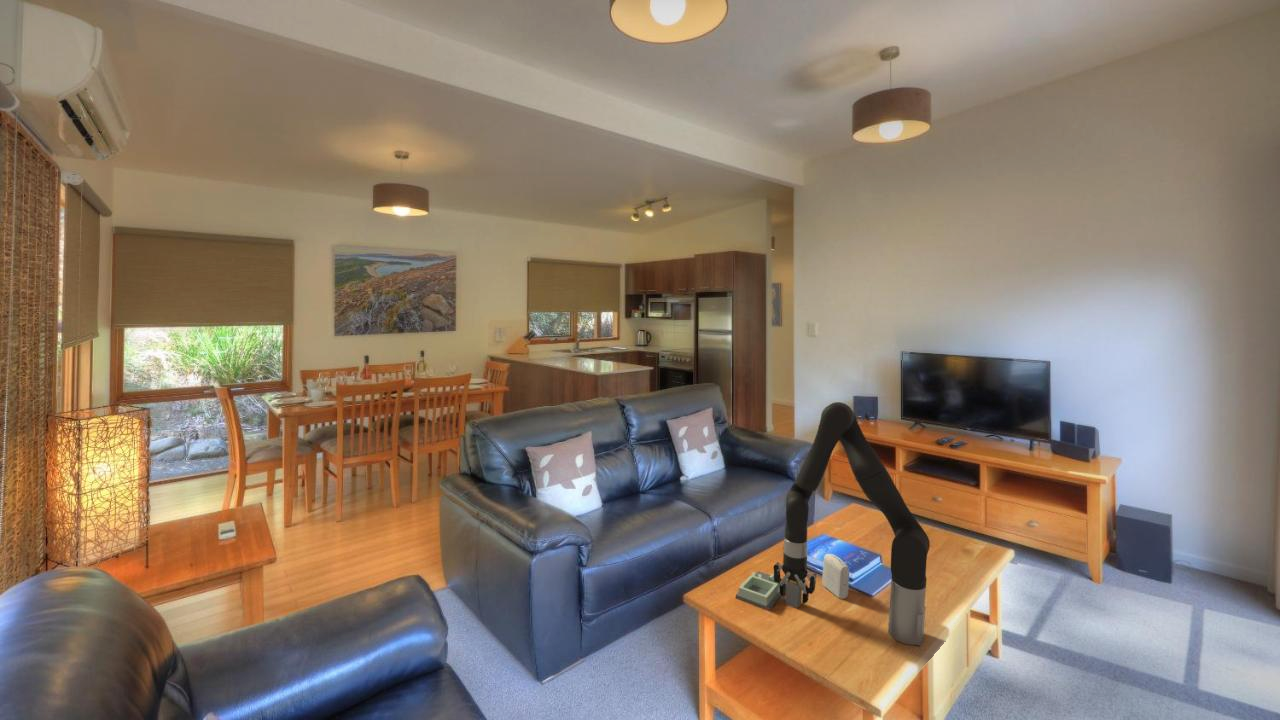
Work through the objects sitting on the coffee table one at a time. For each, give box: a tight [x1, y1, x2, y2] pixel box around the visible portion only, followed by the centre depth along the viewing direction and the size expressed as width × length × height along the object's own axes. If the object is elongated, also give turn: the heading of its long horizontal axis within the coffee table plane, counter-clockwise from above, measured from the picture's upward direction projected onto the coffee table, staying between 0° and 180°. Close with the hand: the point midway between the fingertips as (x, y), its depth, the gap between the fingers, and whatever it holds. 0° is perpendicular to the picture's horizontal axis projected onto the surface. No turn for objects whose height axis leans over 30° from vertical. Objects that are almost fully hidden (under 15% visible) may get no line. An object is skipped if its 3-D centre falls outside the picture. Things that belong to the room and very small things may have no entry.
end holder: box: [738, 574, 778, 606], centre depth 175 cm, size 10×10×3 cm
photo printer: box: [821, 553, 850, 600], centre depth 178 cm, size 10×4×12 cm, turn 17°
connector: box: [785, 579, 803, 609], centre depth 171 cm, size 4×4×9 cm
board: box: [735, 571, 788, 611], centre depth 178 cm, size 12×19×4 cm, turn 144°
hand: (793, 598), depth 171 cm, fingers open, 6 cm apart
